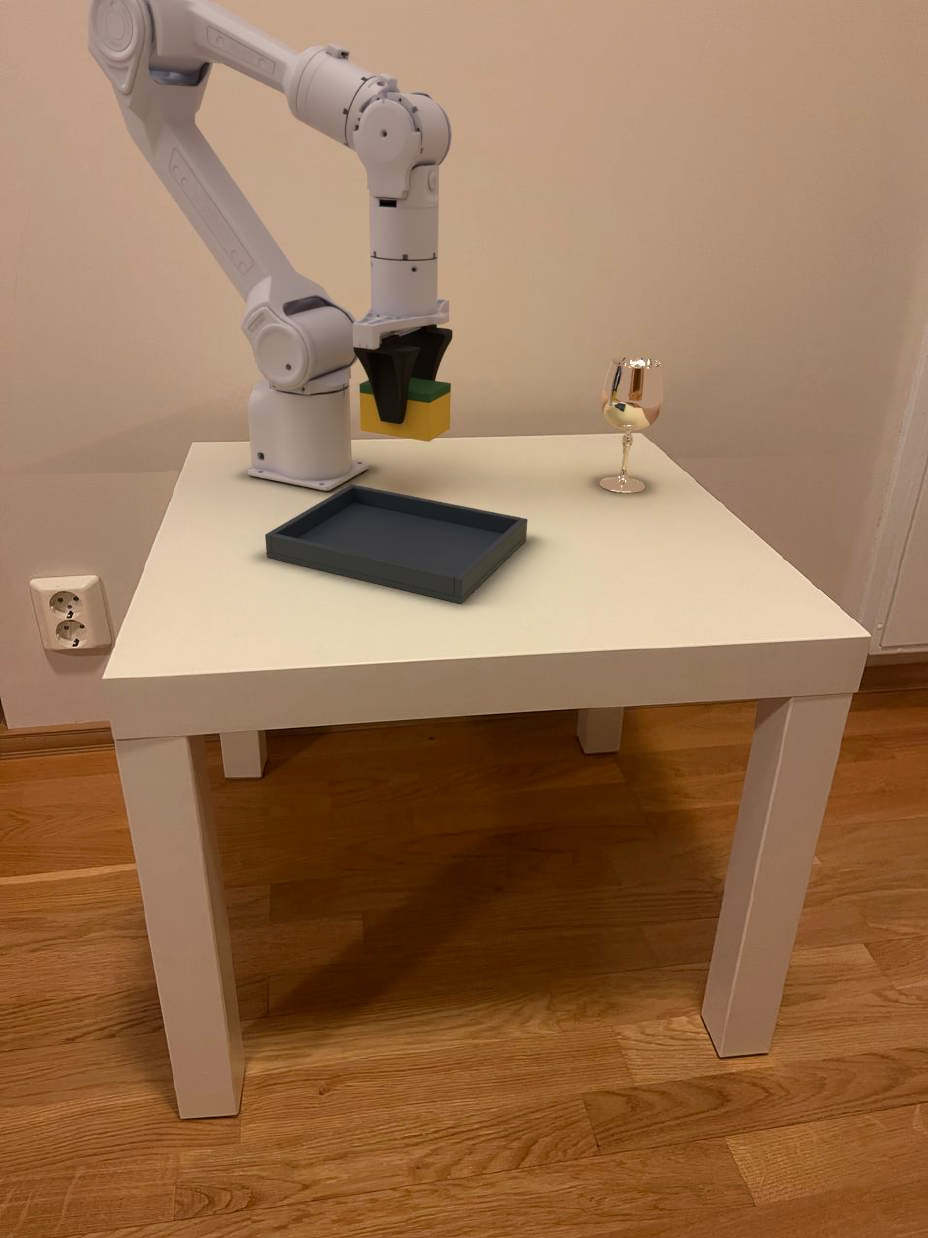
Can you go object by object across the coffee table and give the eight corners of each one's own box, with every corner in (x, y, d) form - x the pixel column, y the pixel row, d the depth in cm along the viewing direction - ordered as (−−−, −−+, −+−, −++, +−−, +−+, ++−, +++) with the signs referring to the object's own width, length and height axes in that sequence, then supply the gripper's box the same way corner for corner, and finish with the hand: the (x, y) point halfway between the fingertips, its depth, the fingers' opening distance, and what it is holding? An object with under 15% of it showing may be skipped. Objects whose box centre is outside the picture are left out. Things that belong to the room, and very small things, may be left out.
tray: (266, 557, 73) (264, 534, 72) (351, 504, 83) (351, 483, 82) (461, 604, 67) (461, 579, 66) (526, 540, 77) (527, 518, 76)
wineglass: (655, 480, 92) (672, 359, 86) (646, 498, 87) (663, 372, 81) (599, 472, 93) (611, 353, 87) (587, 490, 88) (599, 365, 83)
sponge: (360, 430, 83) (359, 383, 81) (383, 418, 87) (383, 373, 85) (429, 442, 81) (429, 394, 79) (450, 429, 84) (451, 382, 82)
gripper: (407, 270, 69) (407, 442, 76) (481, 251, 81) (475, 402, 88) (327, 262, 72) (334, 430, 78) (410, 245, 84) (410, 392, 90)
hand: (404, 415), depth 83 cm, fingers closed on sponge, 4 cm apart
